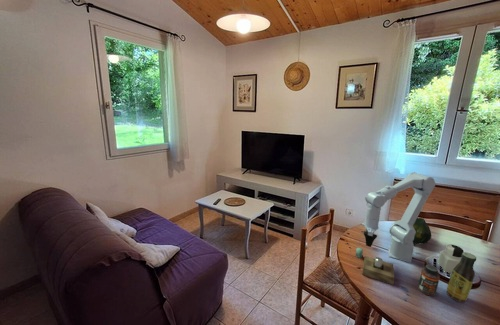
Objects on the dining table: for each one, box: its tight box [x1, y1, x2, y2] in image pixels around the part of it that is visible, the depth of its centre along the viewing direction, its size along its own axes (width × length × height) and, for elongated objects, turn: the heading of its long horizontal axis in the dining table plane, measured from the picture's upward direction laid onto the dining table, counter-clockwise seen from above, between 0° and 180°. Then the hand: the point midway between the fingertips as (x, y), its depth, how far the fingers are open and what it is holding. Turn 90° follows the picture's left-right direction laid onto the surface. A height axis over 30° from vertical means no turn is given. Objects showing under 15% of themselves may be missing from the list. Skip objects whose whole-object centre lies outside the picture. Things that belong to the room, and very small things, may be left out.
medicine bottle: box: [437, 244, 464, 274], centre depth 105 cm, size 7×7×12 cm
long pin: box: [374, 256, 384, 269], centre depth 103 cm, size 3×3×7 cm
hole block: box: [362, 255, 395, 285], centre depth 103 cm, size 12×10×4 cm
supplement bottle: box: [417, 264, 440, 297], centre depth 92 cm, size 6×6×11 cm
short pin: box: [355, 247, 364, 259], centre depth 115 cm, size 3×3×4 cm
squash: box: [402, 217, 432, 245], centre depth 128 cm, size 14×15×15 cm
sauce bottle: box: [446, 251, 477, 303], centre depth 88 cm, size 6×6×20 cm
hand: (368, 242), depth 110 cm, fingers open, 7 cm apart
